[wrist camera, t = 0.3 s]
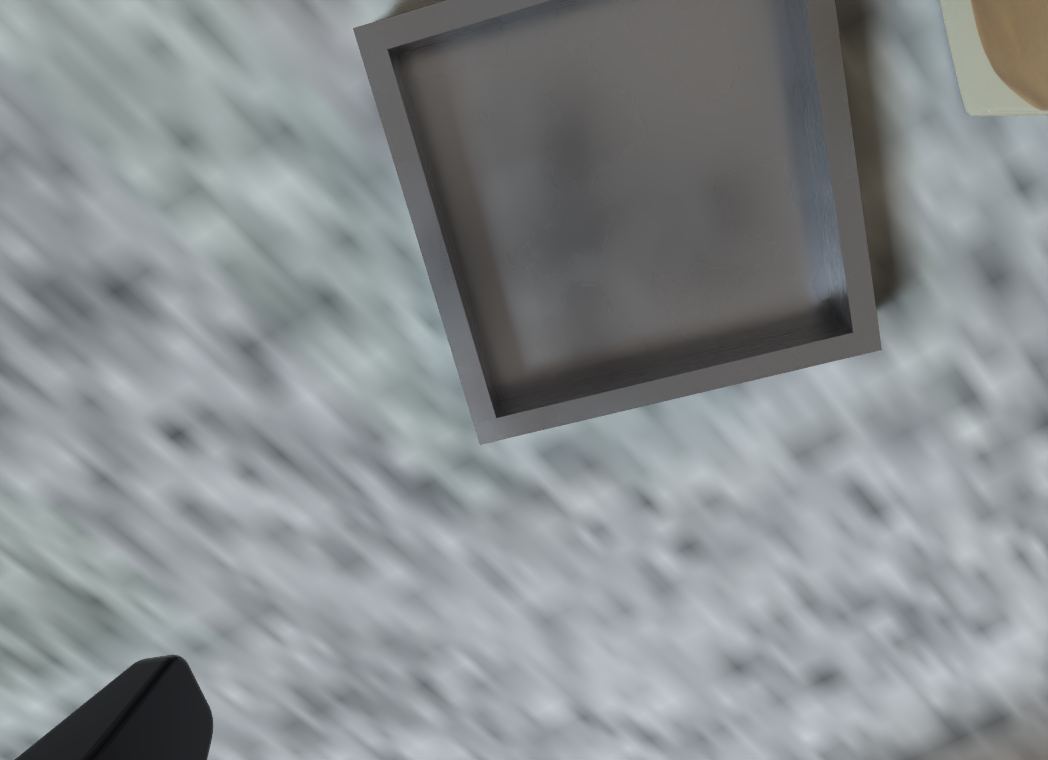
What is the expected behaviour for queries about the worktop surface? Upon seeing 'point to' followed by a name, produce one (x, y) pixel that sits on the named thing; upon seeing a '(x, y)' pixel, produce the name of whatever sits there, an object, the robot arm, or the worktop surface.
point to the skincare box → (999, 55)
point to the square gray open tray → (626, 196)
